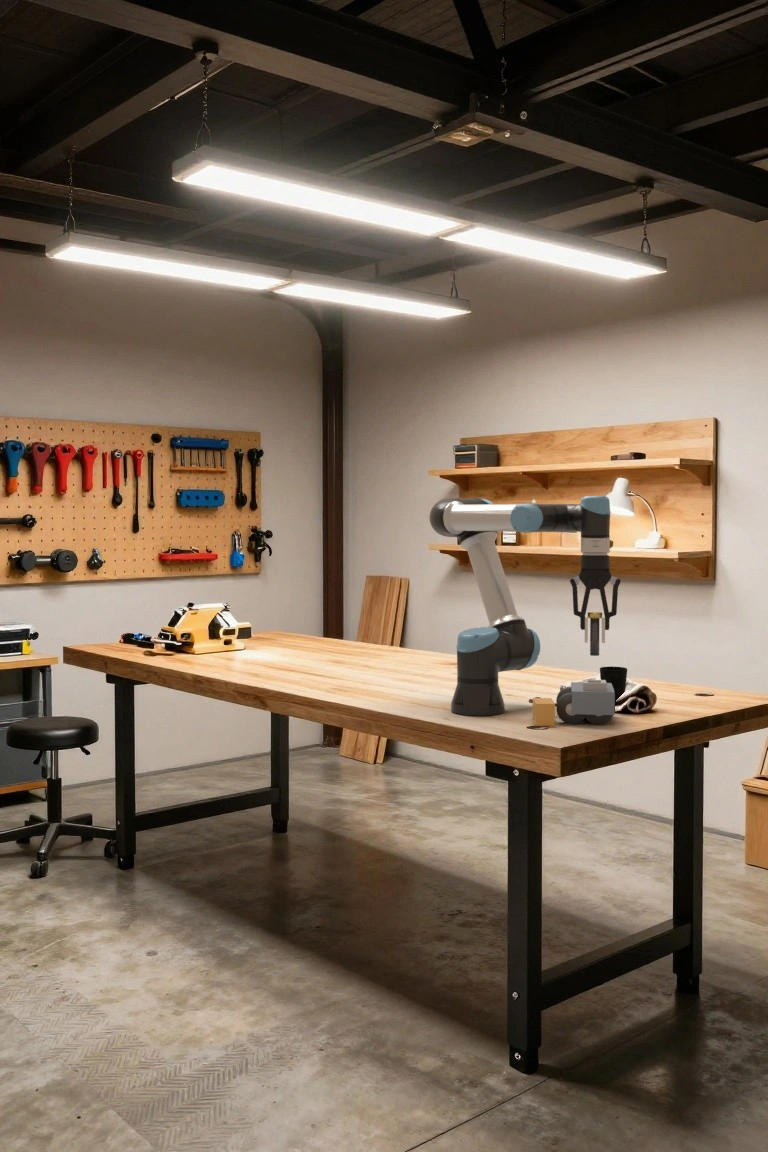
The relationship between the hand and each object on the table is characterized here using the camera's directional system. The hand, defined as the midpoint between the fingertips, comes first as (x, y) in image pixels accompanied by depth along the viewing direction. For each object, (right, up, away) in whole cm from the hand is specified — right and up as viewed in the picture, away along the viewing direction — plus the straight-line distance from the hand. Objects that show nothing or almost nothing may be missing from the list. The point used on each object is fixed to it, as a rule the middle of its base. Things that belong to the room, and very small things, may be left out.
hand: (594, 642), depth 274 cm
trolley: (-2, -21, +4) cm, 22 cm away
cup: (+9, -21, +19) cm, 30 cm away
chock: (-13, -22, +1) cm, 26 cm away
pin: (0, -4, 0) cm, 4 cm away
